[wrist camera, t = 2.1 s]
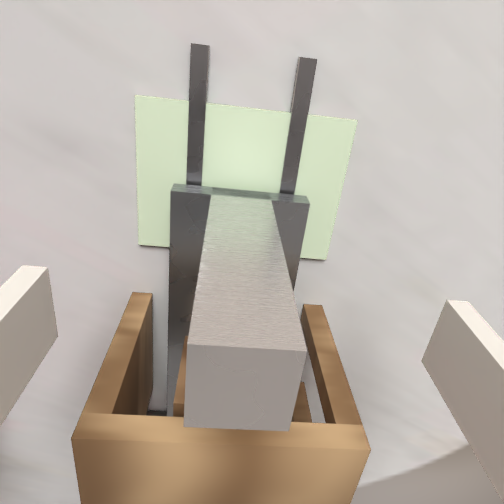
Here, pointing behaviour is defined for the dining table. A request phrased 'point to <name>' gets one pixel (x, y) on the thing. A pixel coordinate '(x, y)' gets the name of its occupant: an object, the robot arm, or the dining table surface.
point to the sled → (235, 306)
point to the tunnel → (214, 435)
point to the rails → (198, 111)
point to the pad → (238, 162)
